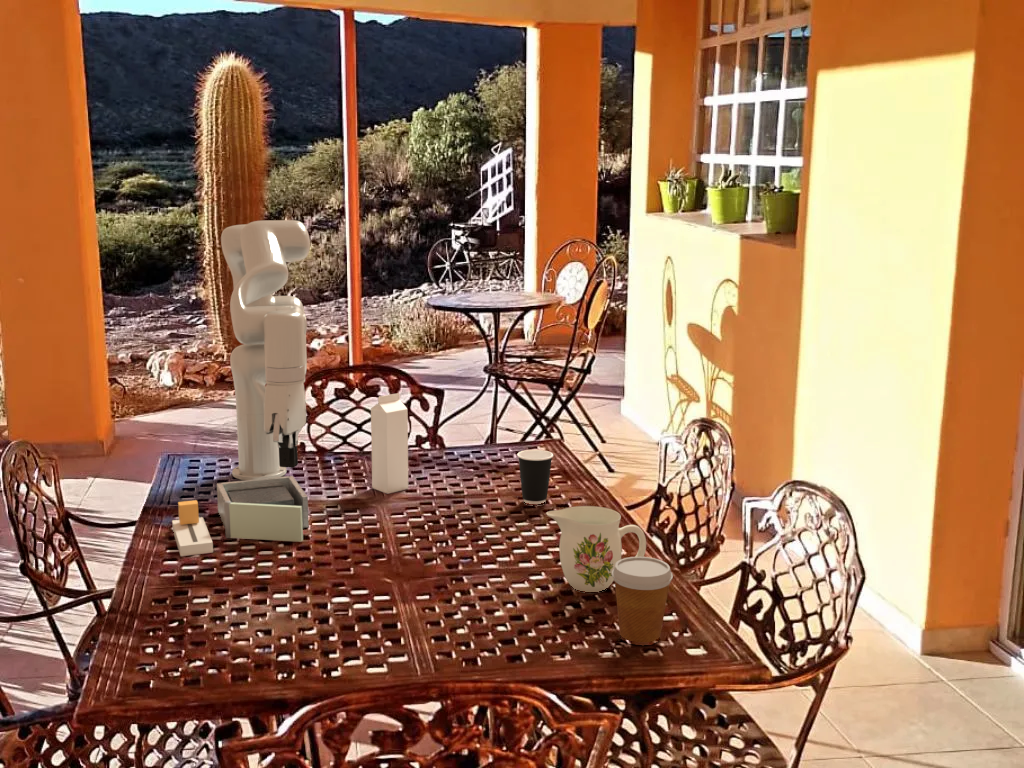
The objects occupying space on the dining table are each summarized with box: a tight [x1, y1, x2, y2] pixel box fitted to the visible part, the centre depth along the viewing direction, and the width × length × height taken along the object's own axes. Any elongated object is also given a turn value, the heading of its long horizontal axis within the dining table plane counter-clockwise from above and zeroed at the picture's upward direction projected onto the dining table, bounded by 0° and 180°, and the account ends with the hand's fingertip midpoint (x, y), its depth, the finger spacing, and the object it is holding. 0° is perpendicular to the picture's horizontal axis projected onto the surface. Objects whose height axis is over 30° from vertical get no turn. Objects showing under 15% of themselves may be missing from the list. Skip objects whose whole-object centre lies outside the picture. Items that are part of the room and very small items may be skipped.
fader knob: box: [177, 499, 200, 525], centre depth 217 cm, size 2×4×4 cm, turn 112°
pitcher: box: [545, 505, 647, 593], centre depth 192 cm, size 11×18×14 cm, turn 97°
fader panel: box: [171, 516, 214, 557], centre depth 213 cm, size 16×6×2 cm, turn 22°
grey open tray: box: [216, 475, 309, 529], centre depth 226 cm, size 16×16×6 cm
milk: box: [370, 392, 409, 494], centre depth 247 cm, size 6×6×22 cm
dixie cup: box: [516, 449, 554, 504], centre depth 239 cm, size 8×8×11 cm
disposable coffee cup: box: [612, 556, 674, 642], centre depth 171 cm, size 10×10×12 cm
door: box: [224, 501, 304, 543], centre depth 214 cm, size 1×16×7 cm, turn 82°
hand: (288, 466), depth 214 cm, fingers closed
